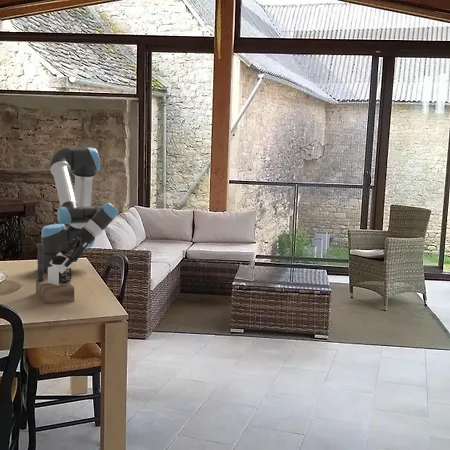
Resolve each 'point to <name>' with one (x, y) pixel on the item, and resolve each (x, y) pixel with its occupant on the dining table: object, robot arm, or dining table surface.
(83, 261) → the dining table surface
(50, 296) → the wooden stand
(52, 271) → the medicine bottle
